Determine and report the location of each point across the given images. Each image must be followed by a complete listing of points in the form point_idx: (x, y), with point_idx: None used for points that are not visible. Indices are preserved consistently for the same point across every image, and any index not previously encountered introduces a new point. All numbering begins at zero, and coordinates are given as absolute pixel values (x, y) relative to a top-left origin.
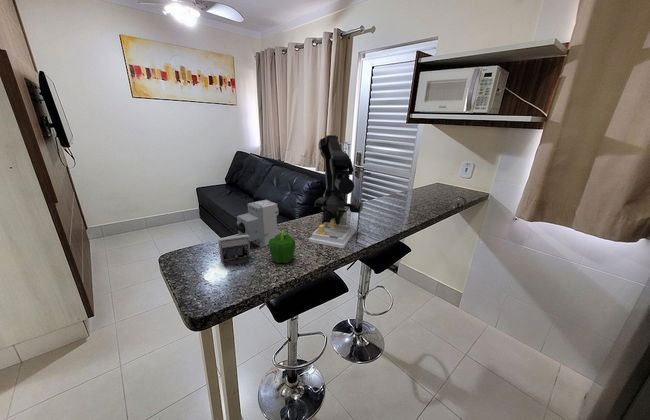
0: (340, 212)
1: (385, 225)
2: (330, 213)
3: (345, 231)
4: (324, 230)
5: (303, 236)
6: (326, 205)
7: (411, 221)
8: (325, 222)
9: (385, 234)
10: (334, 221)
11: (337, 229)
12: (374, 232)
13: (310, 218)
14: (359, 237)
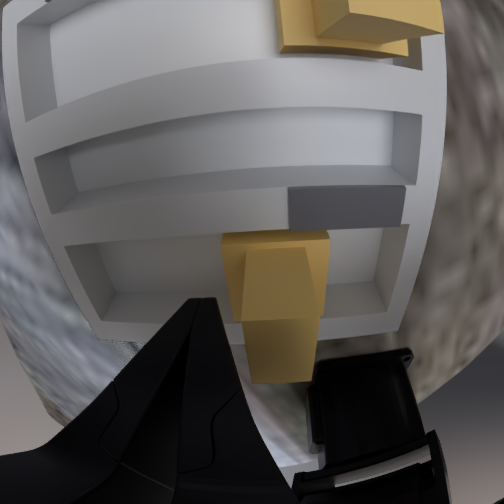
0: (3, 482)
1: (85, 399)
2: (367, 430)
3: (68, 209)
4: (316, 31)
5: (487, 48)
6: (418, 487)
7: (67, 420)
8: (391, 321)
9: (18, 330)
10: (245, 326)
11: (163, 204)
12: (53, 338)
13: (470, 351)
14: (46, 247)
